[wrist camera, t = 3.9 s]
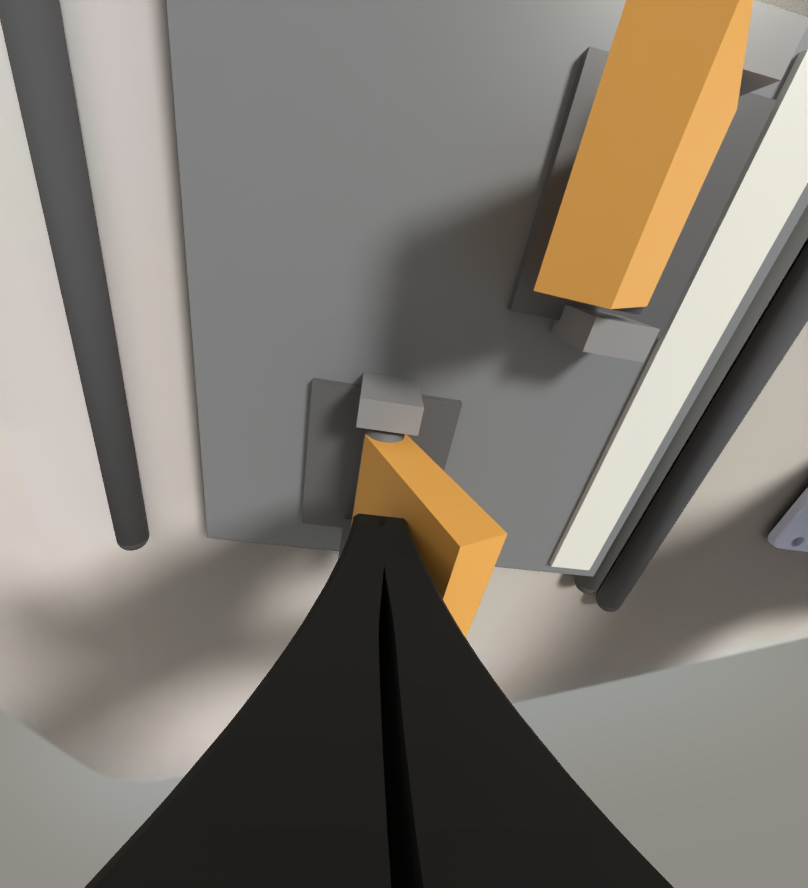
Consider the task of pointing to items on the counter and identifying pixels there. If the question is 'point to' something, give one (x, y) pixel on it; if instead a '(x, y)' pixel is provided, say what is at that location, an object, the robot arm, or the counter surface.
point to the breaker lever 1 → (431, 518)
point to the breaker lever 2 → (646, 149)
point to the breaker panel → (445, 260)
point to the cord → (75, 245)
